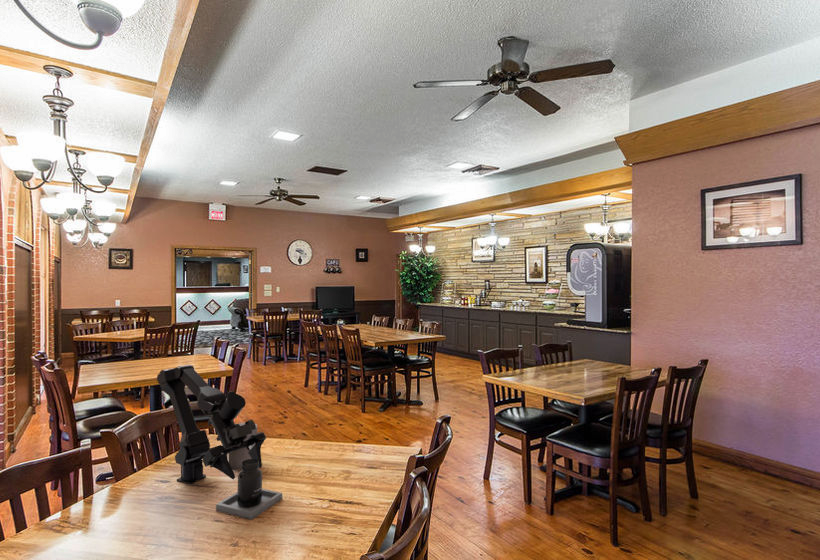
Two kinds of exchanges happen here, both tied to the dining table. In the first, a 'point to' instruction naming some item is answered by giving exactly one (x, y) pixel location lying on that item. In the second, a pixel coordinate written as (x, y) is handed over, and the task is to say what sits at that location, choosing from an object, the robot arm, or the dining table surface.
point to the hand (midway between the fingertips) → (247, 472)
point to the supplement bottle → (249, 484)
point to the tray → (250, 513)
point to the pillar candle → (240, 454)
